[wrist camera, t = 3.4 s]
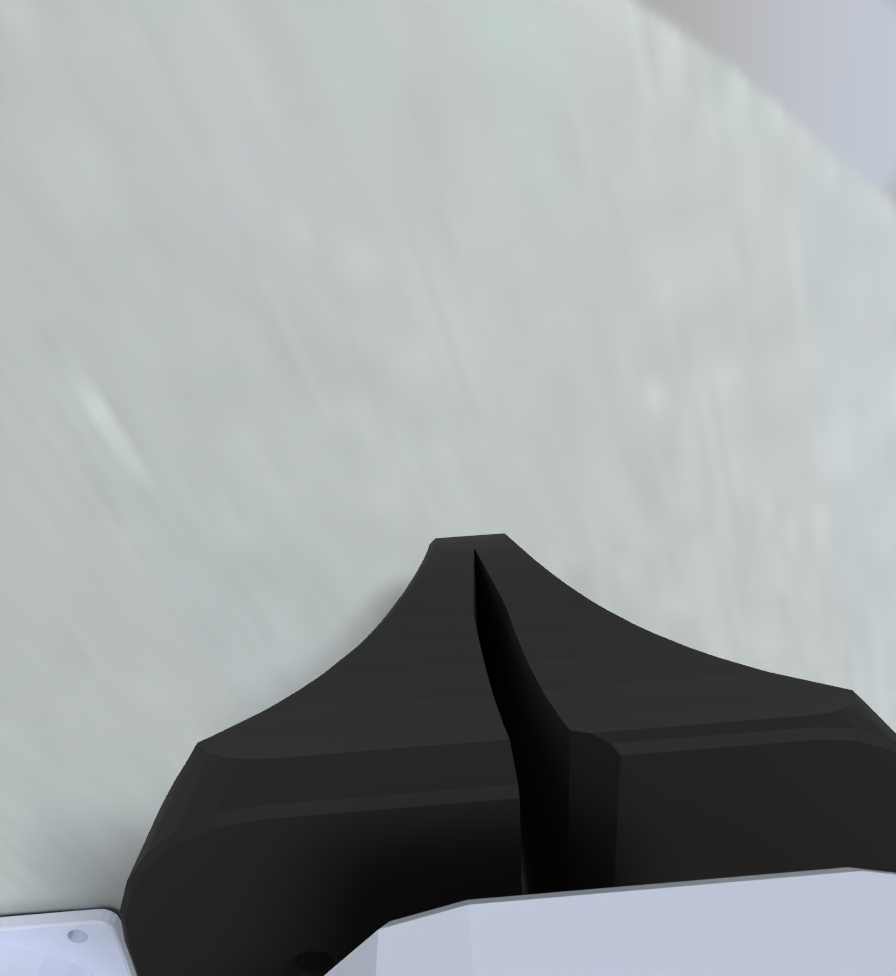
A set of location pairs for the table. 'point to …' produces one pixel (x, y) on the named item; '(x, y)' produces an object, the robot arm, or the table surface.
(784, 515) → the table surface
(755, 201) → the table surface
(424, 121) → the table surface
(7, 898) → the table surface
